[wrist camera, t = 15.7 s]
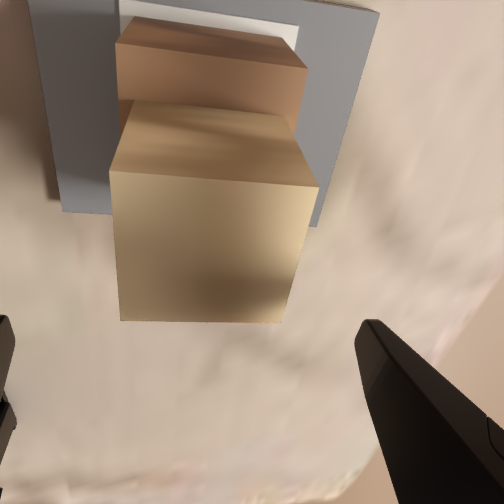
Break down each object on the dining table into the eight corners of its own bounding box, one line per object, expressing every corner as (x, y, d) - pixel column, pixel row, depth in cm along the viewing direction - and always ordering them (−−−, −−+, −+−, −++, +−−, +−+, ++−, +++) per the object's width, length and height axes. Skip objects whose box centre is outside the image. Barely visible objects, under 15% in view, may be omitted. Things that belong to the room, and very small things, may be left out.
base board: (67, 201, 22) (61, 214, 21) (28, -48, 15) (17, -46, 14) (312, 217, 24) (317, 228, 23) (371, 9, 18) (381, 14, 17)
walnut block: (139, 192, 21) (126, 253, 17) (134, 16, 16) (114, 42, 12) (253, 200, 22) (266, 259, 18) (282, 37, 17) (308, 68, 13)
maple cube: (138, 226, 16) (120, 320, 12) (134, 99, 13) (109, 170, 9) (260, 233, 17) (280, 323, 13) (284, 115, 14) (319, 187, 10)
